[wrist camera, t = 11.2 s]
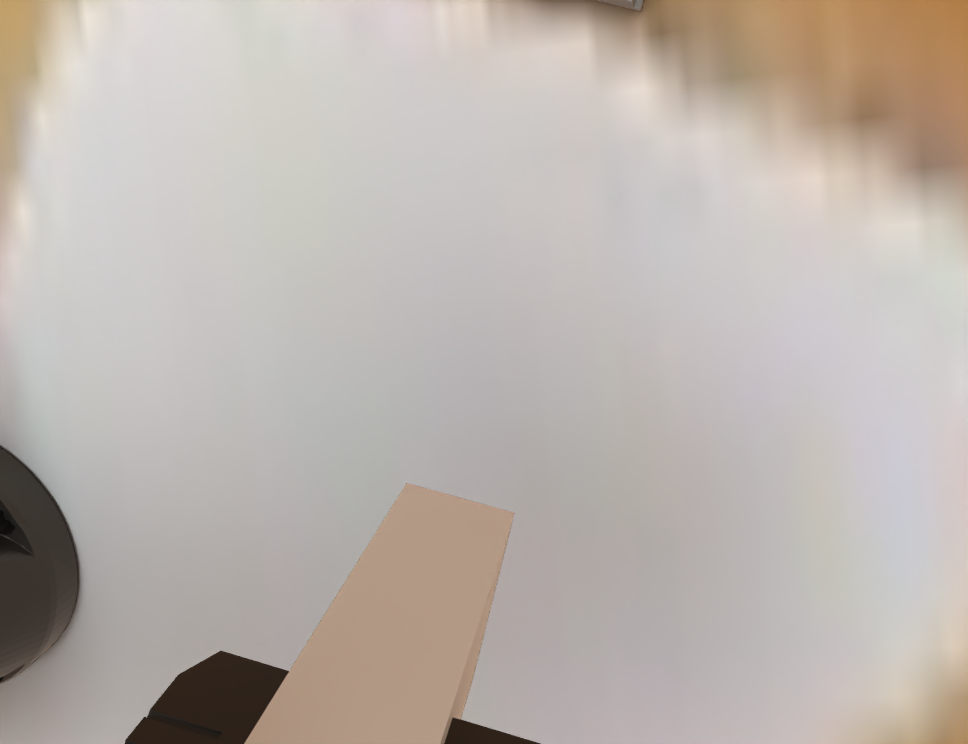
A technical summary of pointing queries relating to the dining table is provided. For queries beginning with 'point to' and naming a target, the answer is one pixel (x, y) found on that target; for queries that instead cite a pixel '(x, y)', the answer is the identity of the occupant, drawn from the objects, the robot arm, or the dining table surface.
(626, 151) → the dining table surface
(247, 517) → the dining table surface
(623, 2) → the key board
